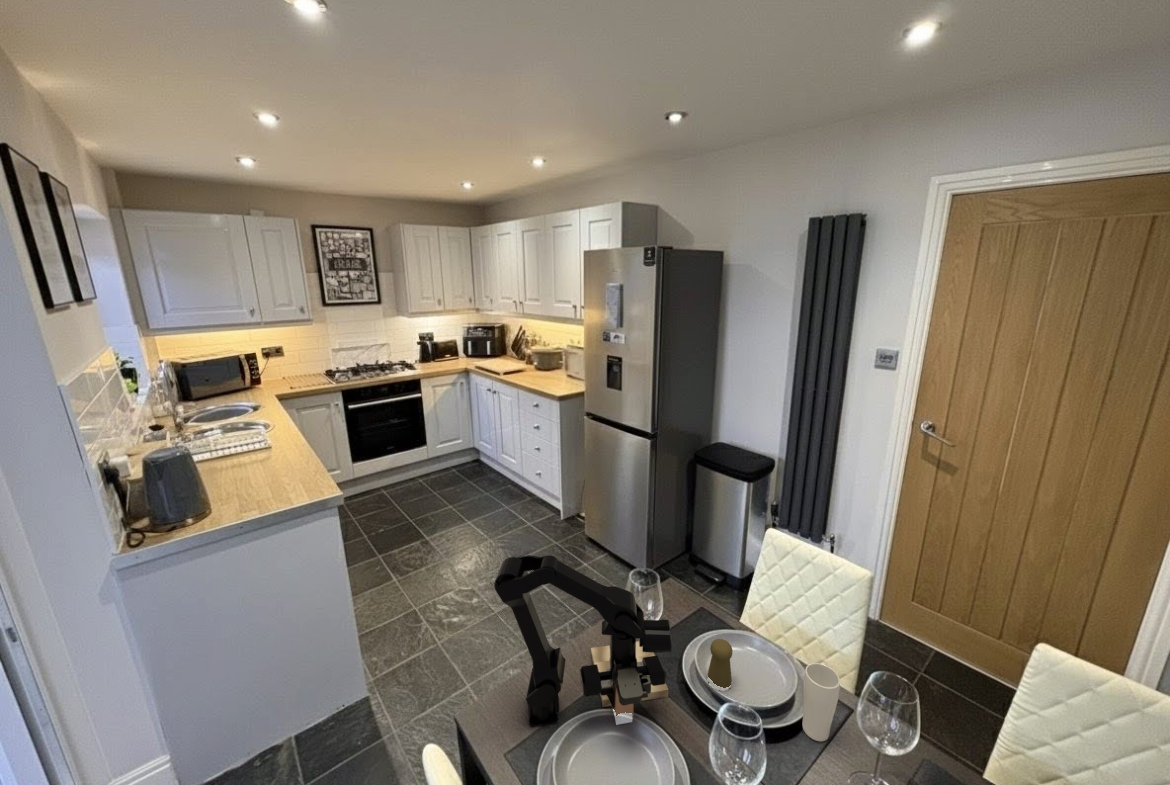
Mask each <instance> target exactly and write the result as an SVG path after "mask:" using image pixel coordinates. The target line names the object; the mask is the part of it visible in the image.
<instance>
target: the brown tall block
mask: <svg viewBox="0 0 1170 785" xmlns="http://www.w3.org/2000/svg"><path fill="white" fill-rule="evenodd" d="M612 688H613V692H614V694H613V695H614V702H615V708H613V709H614V710H615V712H616V716H617V715H618V714H620V713H625V712H626V713H632V714H633V715H634V705H633V704H628V705H625V706H624V705H621V704H620V702H619V697H618V692H617V687H616V684H613V683H612Z"/></svg>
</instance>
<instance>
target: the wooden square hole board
mask: <svg viewBox="0 0 1170 785" xmlns="http://www.w3.org/2000/svg"><path fill="white" fill-rule="evenodd" d="M650 656H656V655H655V652H643V651H642V647H639V640H637V641H636V659H637V662H642V658H644V657H650ZM590 657H591V659H592V665H595V664H597V666H598V671H599V672H605V671H606V669H610V644H608V645H601V646H596V647H595V646H594V647H591V648H590ZM599 696H600V700H601V704H602V705H601V706H602V708H605V707H612V705H611V703H610V700H609V698H608V696H607V695H601V694H600V693H599ZM668 697H669V688H668V685H667V682H666V683H665V684H663V685H657V686H653V685H651V693H649V694H648V697H646V698H642V699H641V702H643V701H648V700H649V701H651V700H655V699H663V698H668Z"/></svg>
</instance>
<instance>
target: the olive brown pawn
mask: <svg viewBox="0 0 1170 785" xmlns="http://www.w3.org/2000/svg"><path fill="white" fill-rule="evenodd" d="M709 648H710V654H711V659H710V663H709V668H708V670H707V675H708V677H709V678H710V679H711V680H712V681H713V683H714V684H716V685H717V686H720V687H723V688H726V687H729V686H730V685H731V682H732V683H733V681H732V680H733V679H732V669H731V668H732V667H731V658H732V657H733V648H732V645H731V644H730V642H729V641H728V640H726V639H724V638H715V639H713V641H712V642H711V644H710V647H709Z"/></svg>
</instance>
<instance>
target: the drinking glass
mask: <svg viewBox="0 0 1170 785" xmlns="http://www.w3.org/2000/svg"><path fill="white" fill-rule="evenodd" d="M840 685H841V679H840V676H839V674H838V673H837V672H836V671H835V670H834V669H833V668H831V667H830V666H828V665H825V664H824V663H818V662H813V663H809V664H808V665H806V667H805V670H804V676H803V686H802V687H803V688H802V689H803V690H802V691H803V692H802V697H803V698H802V699H803V700H802V702H803V703H802V729H803V731H804V733H805V735H807V736H808V737H809V738H810V739H812V740H814V741H816V742H824V741H827V740H828V739H829V738H830V732H831V728H832V724H833V719H834V715H835V712H836V708H837V704H838V701H839V695H840V687H841V686H840Z"/></svg>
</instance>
